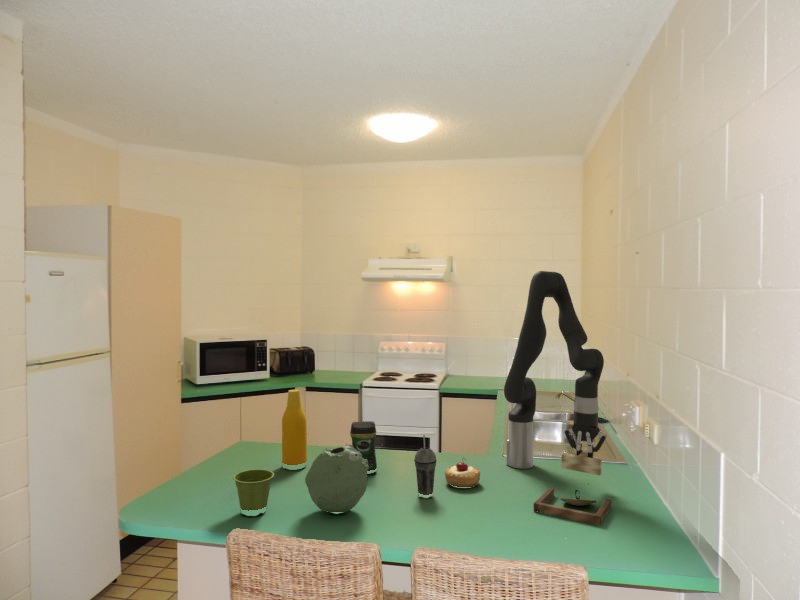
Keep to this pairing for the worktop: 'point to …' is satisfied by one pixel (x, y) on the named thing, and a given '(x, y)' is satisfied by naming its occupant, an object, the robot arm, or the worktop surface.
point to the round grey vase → (337, 478)
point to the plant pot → (253, 488)
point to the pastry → (462, 475)
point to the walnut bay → (571, 510)
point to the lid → (578, 501)
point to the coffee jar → (365, 441)
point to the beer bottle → (294, 431)
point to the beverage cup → (425, 469)
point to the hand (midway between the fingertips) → (584, 462)
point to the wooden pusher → (582, 463)
